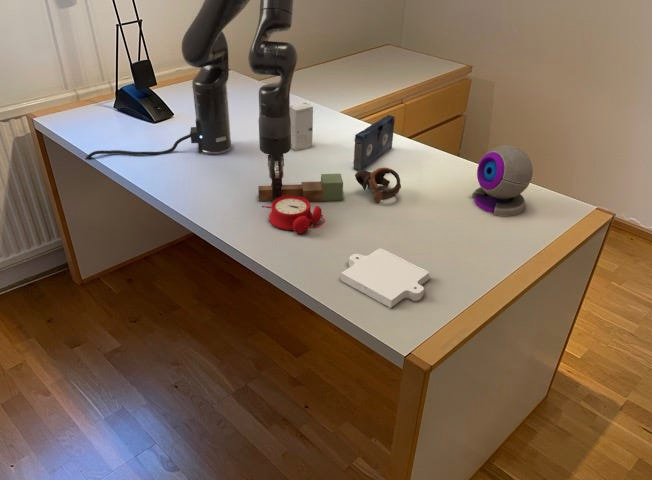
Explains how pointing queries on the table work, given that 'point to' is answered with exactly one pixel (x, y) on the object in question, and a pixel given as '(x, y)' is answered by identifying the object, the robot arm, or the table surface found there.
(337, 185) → the block
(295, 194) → the wooden stamp
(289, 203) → the alarm clock
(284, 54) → the robot arm
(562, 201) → the table surface
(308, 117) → the cosmetic box
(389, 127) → the vhs cassette tape
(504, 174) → the webcam
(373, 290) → the mounting plate
